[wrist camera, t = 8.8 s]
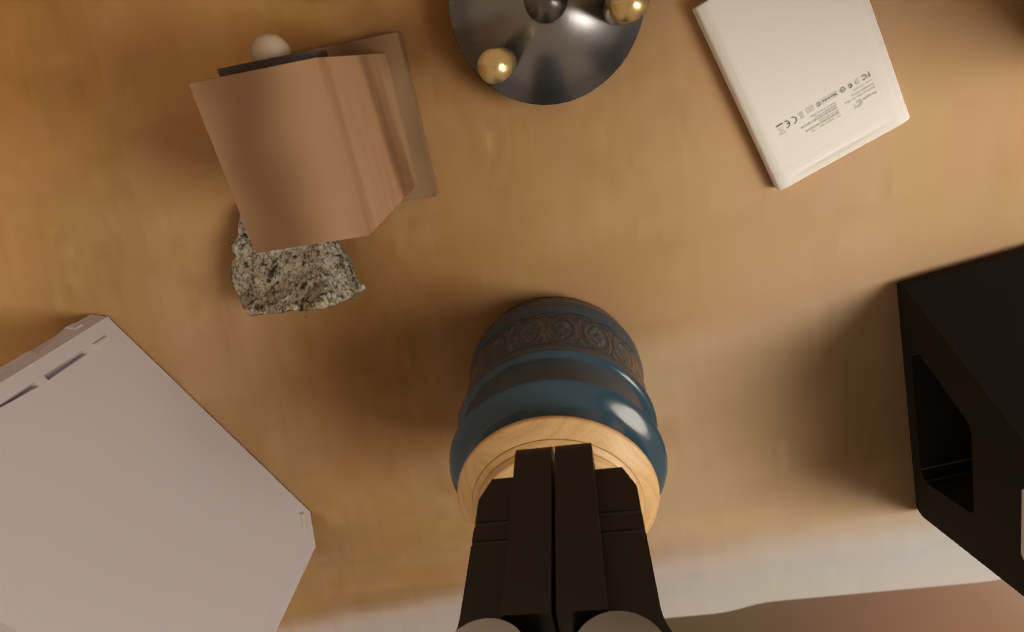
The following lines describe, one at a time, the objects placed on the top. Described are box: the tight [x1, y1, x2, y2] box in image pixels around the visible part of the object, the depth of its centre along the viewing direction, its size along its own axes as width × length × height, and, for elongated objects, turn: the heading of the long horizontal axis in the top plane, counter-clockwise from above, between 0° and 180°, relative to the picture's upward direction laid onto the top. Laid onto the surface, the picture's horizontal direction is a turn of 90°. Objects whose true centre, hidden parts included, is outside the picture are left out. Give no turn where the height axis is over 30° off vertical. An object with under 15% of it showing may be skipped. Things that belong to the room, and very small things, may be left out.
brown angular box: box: [189, 32, 438, 253], centre depth 31 cm, size 8×10×12 cm
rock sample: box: [226, 215, 365, 318], centre depth 39 cm, size 10×8×9 cm
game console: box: [0, 314, 316, 632], centre depth 40 cm, size 6×27×20 cm, turn 33°
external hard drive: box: [692, 0, 910, 190], centre depth 33 cm, size 2×8×12 cm
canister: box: [449, 297, 667, 533], centre depth 36 cm, size 13×13×18 cm
